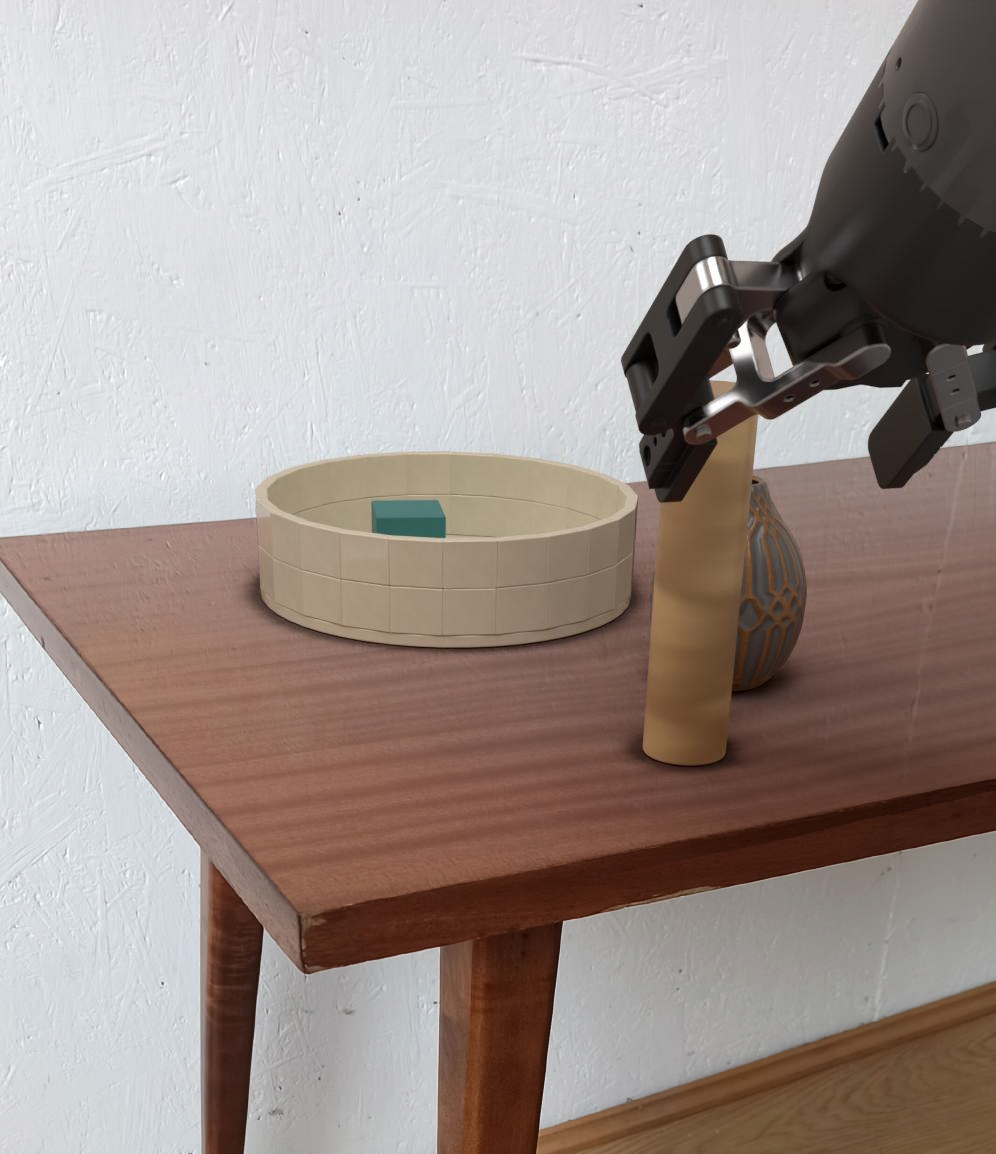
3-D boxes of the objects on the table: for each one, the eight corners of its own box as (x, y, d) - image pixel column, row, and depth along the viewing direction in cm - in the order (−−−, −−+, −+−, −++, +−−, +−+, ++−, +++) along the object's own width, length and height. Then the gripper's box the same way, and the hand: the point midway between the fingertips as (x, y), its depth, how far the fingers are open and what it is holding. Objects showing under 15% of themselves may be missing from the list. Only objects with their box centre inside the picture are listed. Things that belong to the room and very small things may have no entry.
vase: (826, 679, 78) (851, 481, 74) (733, 714, 74) (753, 506, 70) (708, 644, 82) (725, 454, 78) (613, 675, 78) (625, 476, 74)
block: (438, 567, 91) (438, 499, 89) (445, 585, 88) (446, 515, 86) (372, 568, 90) (371, 499, 89) (377, 586, 87) (376, 516, 86)
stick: (726, 738, 72) (760, 381, 64) (725, 768, 69) (760, 398, 61) (644, 733, 72) (669, 377, 65) (640, 762, 69) (665, 393, 62)
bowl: (640, 552, 97) (646, 460, 94) (618, 659, 80) (625, 550, 78) (305, 534, 98) (302, 443, 96) (218, 634, 82) (211, 528, 79)
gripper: (1203, 0, 47) (922, 371, 63) (738, -17, 43) (558, 385, 59) (1286, 234, 46) (977, 556, 61) (812, 239, 42) (608, 583, 57)
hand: (772, 472), depth 60 cm, fingers open, 8 cm apart
